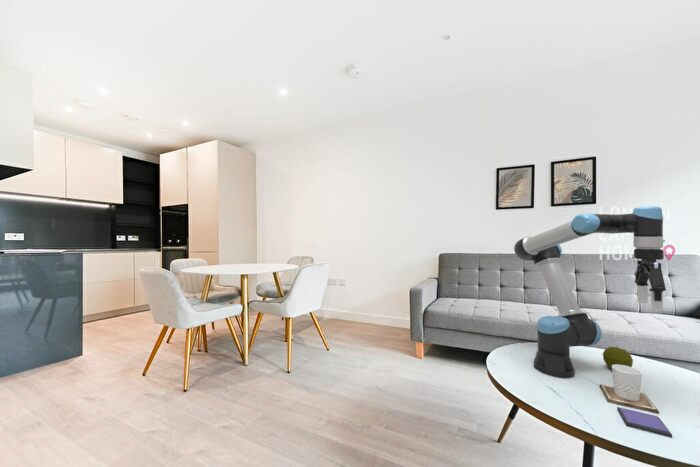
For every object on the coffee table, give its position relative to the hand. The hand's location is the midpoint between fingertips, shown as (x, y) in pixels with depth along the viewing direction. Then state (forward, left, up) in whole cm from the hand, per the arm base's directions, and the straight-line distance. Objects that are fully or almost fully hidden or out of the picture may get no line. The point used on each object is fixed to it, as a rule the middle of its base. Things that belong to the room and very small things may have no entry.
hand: (649, 306), depth 103 cm
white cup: (-7, -2, -34) cm, 35 cm away
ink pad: (-7, -18, -35) cm, 40 cm away
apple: (-3, +28, -35) cm, 45 cm away
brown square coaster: (-7, -2, -35) cm, 35 cm away
